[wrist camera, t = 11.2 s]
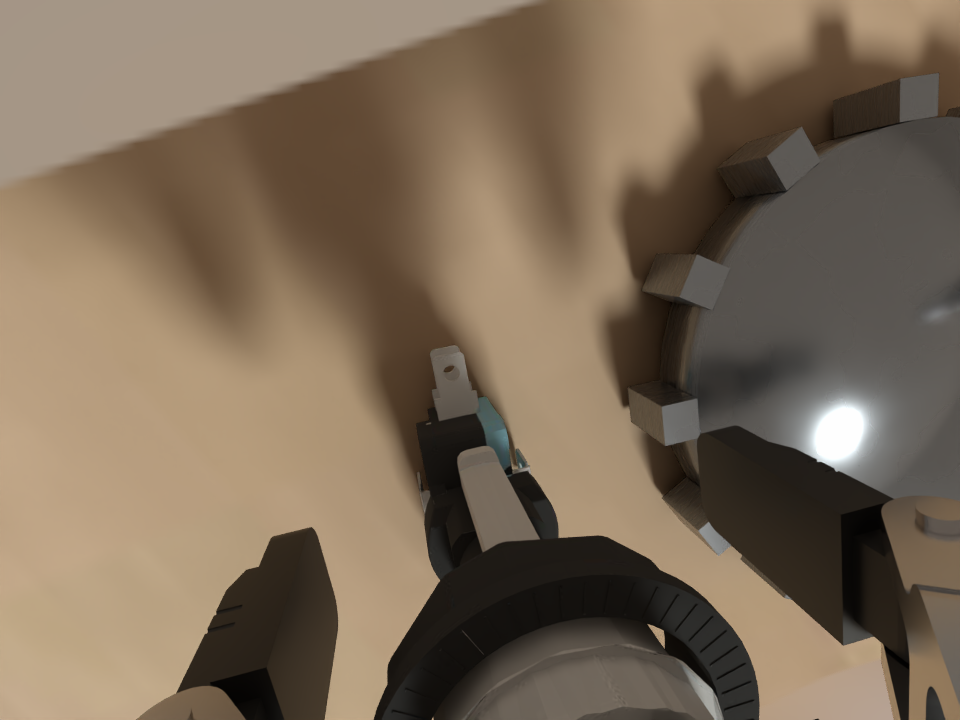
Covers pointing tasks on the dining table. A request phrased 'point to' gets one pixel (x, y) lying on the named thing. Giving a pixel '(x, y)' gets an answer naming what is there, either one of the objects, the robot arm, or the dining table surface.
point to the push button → (544, 600)
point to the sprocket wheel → (823, 305)
